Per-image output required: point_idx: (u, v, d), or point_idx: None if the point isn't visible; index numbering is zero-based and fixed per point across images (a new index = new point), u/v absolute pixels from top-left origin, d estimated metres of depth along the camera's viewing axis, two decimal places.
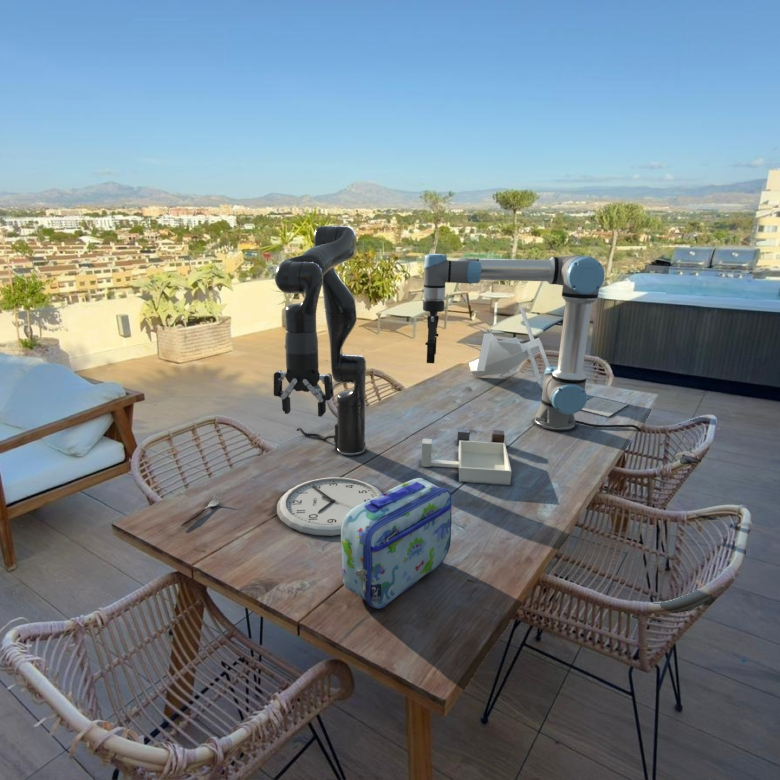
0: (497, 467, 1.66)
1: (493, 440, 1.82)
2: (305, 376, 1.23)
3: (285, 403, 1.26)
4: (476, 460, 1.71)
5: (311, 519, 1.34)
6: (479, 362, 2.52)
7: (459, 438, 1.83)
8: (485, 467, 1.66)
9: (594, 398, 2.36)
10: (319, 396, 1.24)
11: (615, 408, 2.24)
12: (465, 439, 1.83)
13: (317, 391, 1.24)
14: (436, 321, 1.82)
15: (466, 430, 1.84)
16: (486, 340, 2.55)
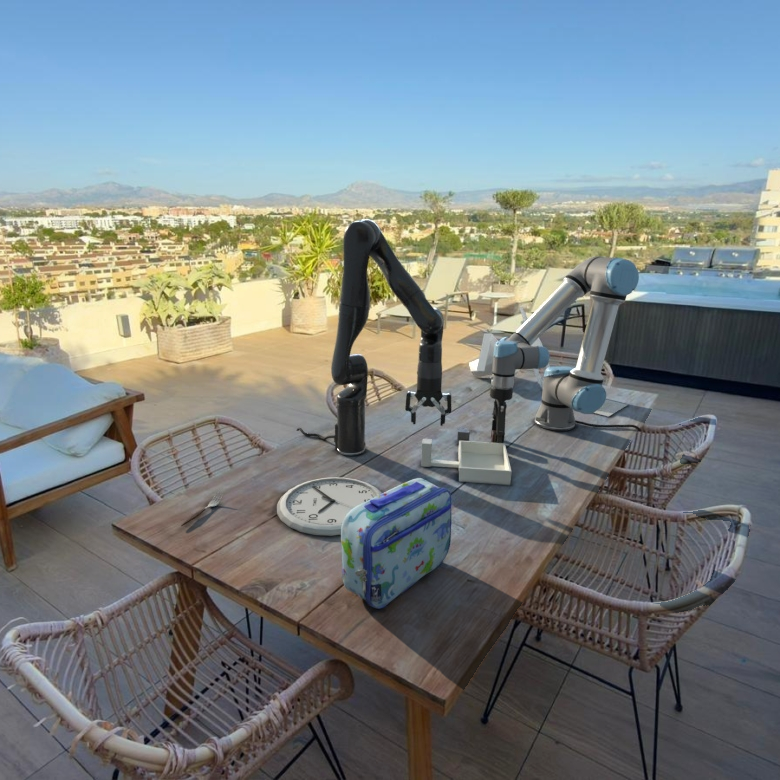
0: (497, 467, 1.66)
1: (493, 440, 1.82)
2: (432, 395, 1.60)
3: (414, 416, 1.63)
4: (476, 460, 1.71)
5: (311, 519, 1.34)
6: (479, 362, 2.52)
7: (459, 438, 1.83)
8: (485, 467, 1.66)
9: None
10: (442, 410, 1.61)
11: (615, 408, 2.24)
12: (465, 439, 1.83)
13: (441, 406, 1.61)
14: None
15: (466, 430, 1.84)
16: (486, 340, 2.55)
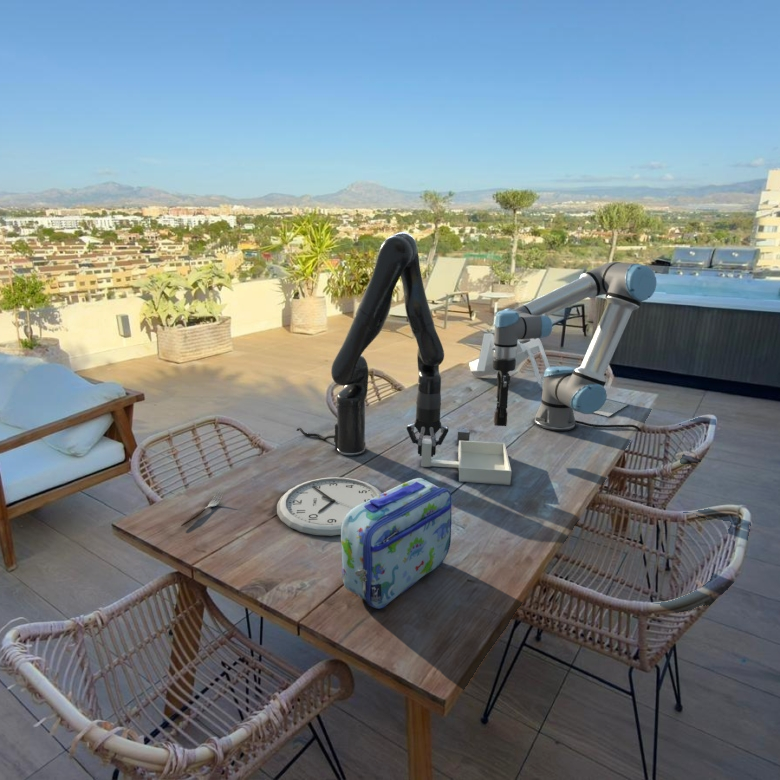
0: (497, 467, 1.66)
1: (496, 418, 1.79)
2: (431, 424, 1.63)
3: (421, 448, 1.66)
4: (476, 460, 1.71)
5: (311, 519, 1.34)
6: (479, 362, 2.52)
7: (459, 438, 1.83)
8: (485, 467, 1.66)
9: None
10: (433, 442, 1.65)
11: (615, 408, 2.24)
12: (465, 439, 1.83)
13: (434, 438, 1.65)
14: None
15: (466, 430, 1.84)
16: (486, 340, 2.55)
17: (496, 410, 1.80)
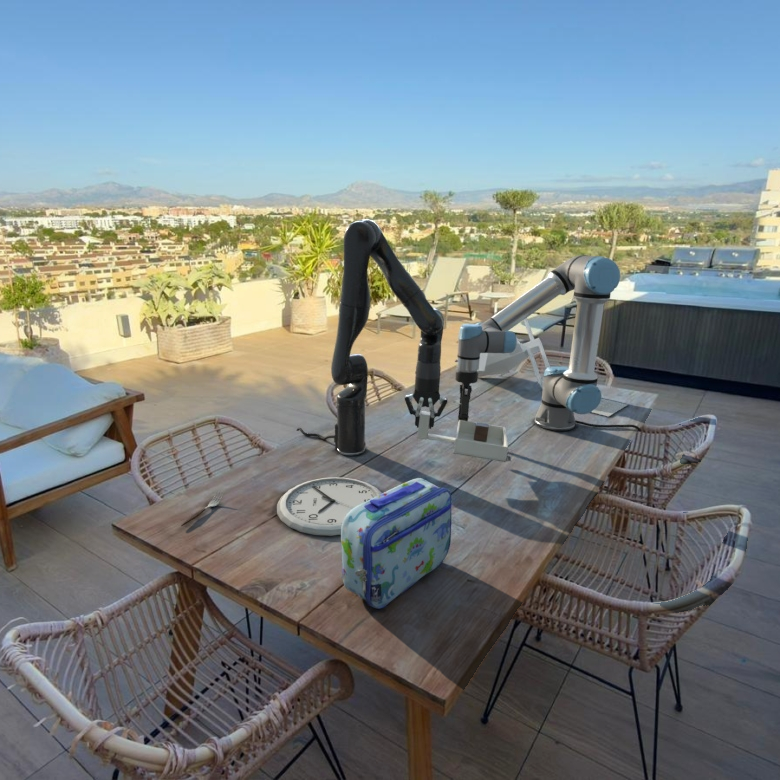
0: None
1: (476, 432, 1.66)
2: (429, 395, 1.60)
3: (418, 419, 1.63)
4: None
5: (311, 519, 1.34)
6: (479, 362, 2.52)
7: None
8: None
9: None
10: (431, 413, 1.62)
11: (615, 408, 2.24)
12: None
13: (433, 409, 1.61)
14: (469, 392, 1.77)
15: None
16: None
17: (477, 424, 1.67)
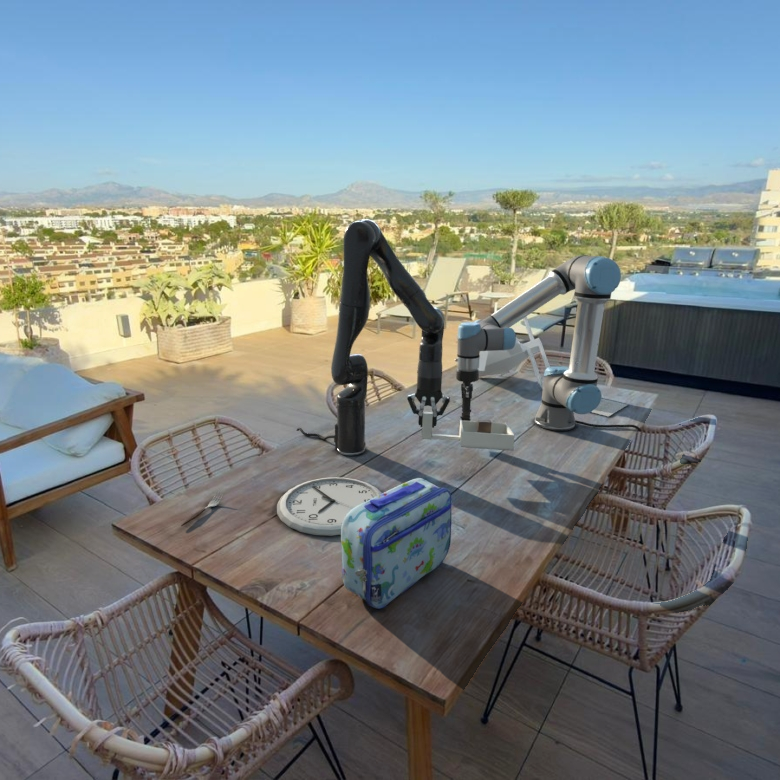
0: None
1: (479, 428, 1.67)
2: (432, 394, 1.60)
3: (421, 419, 1.63)
4: None
5: (311, 519, 1.34)
6: (479, 362, 2.52)
7: None
8: None
9: None
10: (434, 412, 1.62)
11: (615, 408, 2.24)
12: None
13: (436, 408, 1.62)
14: (470, 392, 1.77)
15: None
16: None
17: (479, 420, 1.68)
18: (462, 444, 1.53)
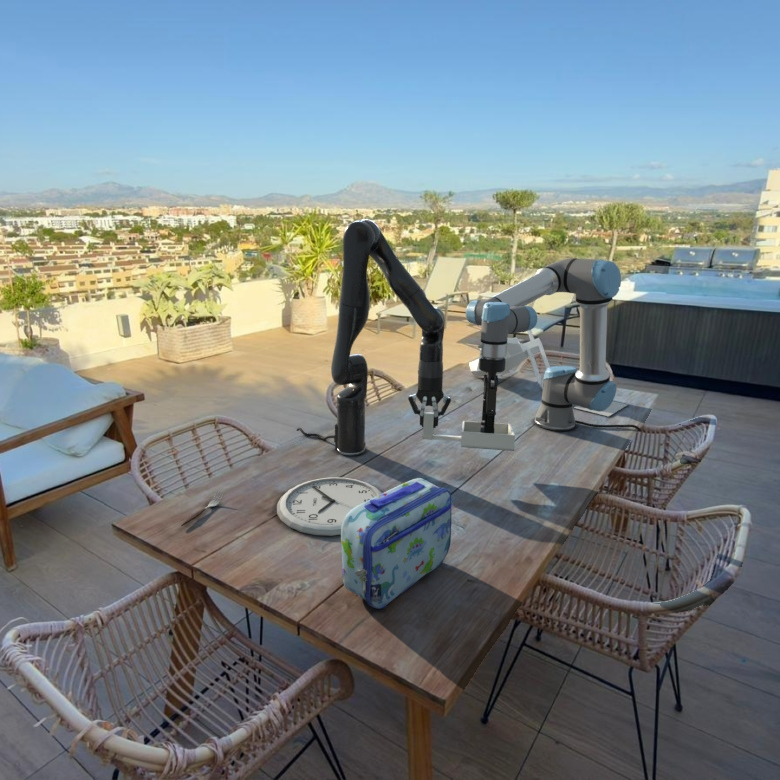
0: None
1: None
2: (433, 394, 1.60)
3: (423, 419, 1.63)
4: None
5: (311, 519, 1.34)
6: None
7: None
8: None
9: None
10: (435, 412, 1.61)
11: (615, 408, 2.24)
12: None
13: (437, 408, 1.61)
14: None
15: None
16: None
17: (482, 421, 1.67)
18: (462, 444, 1.52)
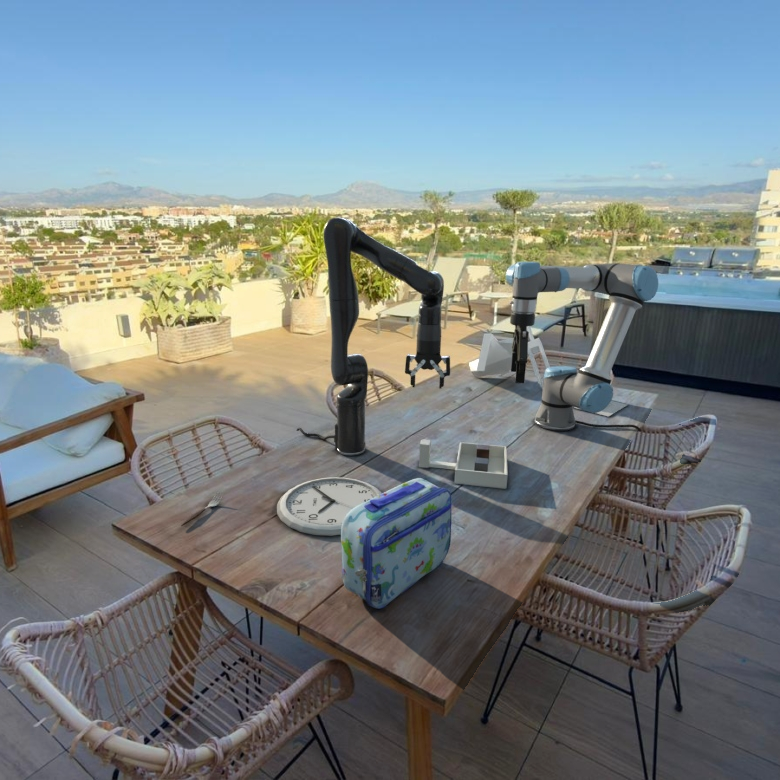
0: (496, 470, 1.64)
1: (477, 455, 1.68)
2: (431, 358, 1.63)
3: (413, 379, 1.66)
4: None
5: (311, 519, 1.34)
6: (479, 362, 2.52)
7: (476, 470, 1.58)
8: None
9: None
10: (441, 373, 1.64)
11: (615, 408, 2.24)
12: (483, 471, 1.58)
13: (440, 369, 1.64)
14: None
15: (484, 460, 1.59)
16: (486, 340, 2.55)
17: (478, 446, 1.69)
18: (456, 481, 1.56)
